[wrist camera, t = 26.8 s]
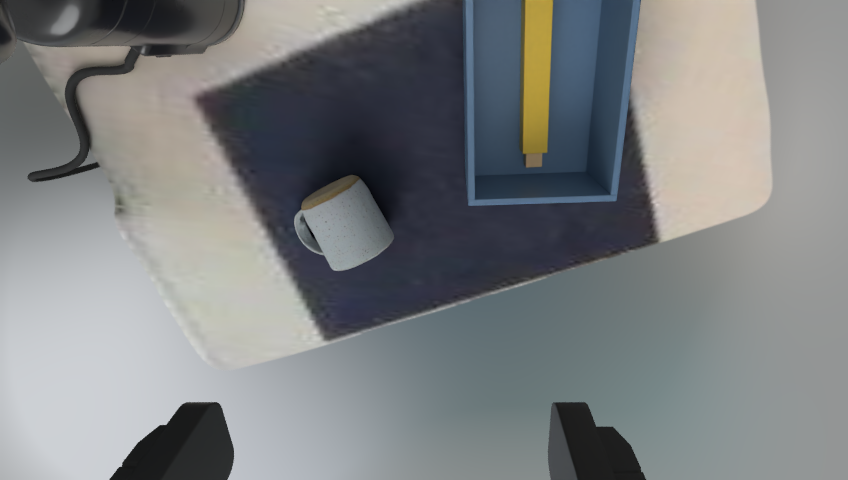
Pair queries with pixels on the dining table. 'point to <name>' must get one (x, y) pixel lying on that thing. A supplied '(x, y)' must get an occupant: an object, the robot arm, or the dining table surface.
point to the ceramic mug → (343, 224)
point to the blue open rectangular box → (568, 102)
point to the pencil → (535, 79)
